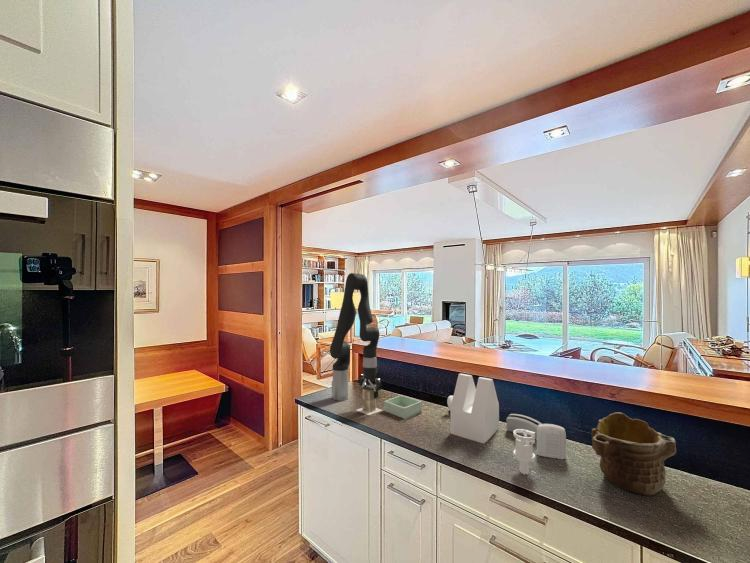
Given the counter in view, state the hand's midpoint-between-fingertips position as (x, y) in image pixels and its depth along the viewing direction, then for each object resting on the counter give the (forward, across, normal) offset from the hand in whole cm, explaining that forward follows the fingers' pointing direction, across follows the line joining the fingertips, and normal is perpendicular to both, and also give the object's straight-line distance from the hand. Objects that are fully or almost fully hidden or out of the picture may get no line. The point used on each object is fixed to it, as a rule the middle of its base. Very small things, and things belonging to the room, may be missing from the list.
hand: (370, 396), depth 173 cm
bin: (+8, +13, +12) cm, 19 cm away
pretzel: (+9, +33, +31) cm, 46 cm away
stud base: (+8, 0, 0) cm, 8 cm away
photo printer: (+10, +82, +20) cm, 85 cm away
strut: (+7, 0, 0) cm, 7 cm away
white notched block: (+10, +50, +19) cm, 54 cm away
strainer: (+10, +78, +1) cm, 79 cm away
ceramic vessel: (+10, +106, +18) cm, 108 cm away
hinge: (+10, +68, +31) cm, 75 cm away
